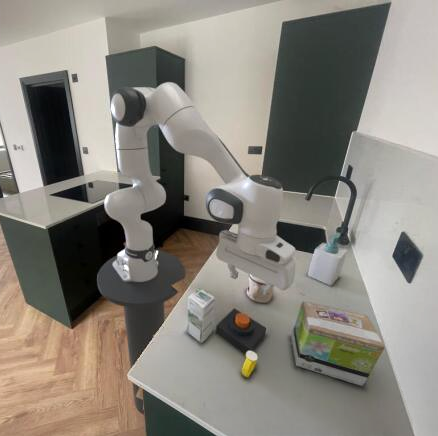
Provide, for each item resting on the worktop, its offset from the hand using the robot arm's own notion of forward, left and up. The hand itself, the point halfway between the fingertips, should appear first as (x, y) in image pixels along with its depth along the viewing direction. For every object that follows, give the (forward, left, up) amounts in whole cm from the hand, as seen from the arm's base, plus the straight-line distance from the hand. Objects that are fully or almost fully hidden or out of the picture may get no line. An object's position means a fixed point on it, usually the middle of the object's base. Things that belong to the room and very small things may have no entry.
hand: (248, 284), depth 63 cm
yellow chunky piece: (+8, -9, -19) cm, 22 cm away
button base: (0, 0, -19) cm, 19 cm away
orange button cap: (0, 0, -14) cm, 14 cm away
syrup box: (-9, -9, -19) cm, 23 cm away
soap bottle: (+9, +50, -19) cm, 54 cm away
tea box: (+20, +9, -19) cm, 29 cm away
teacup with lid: (-4, +19, -19) cm, 27 cm away
